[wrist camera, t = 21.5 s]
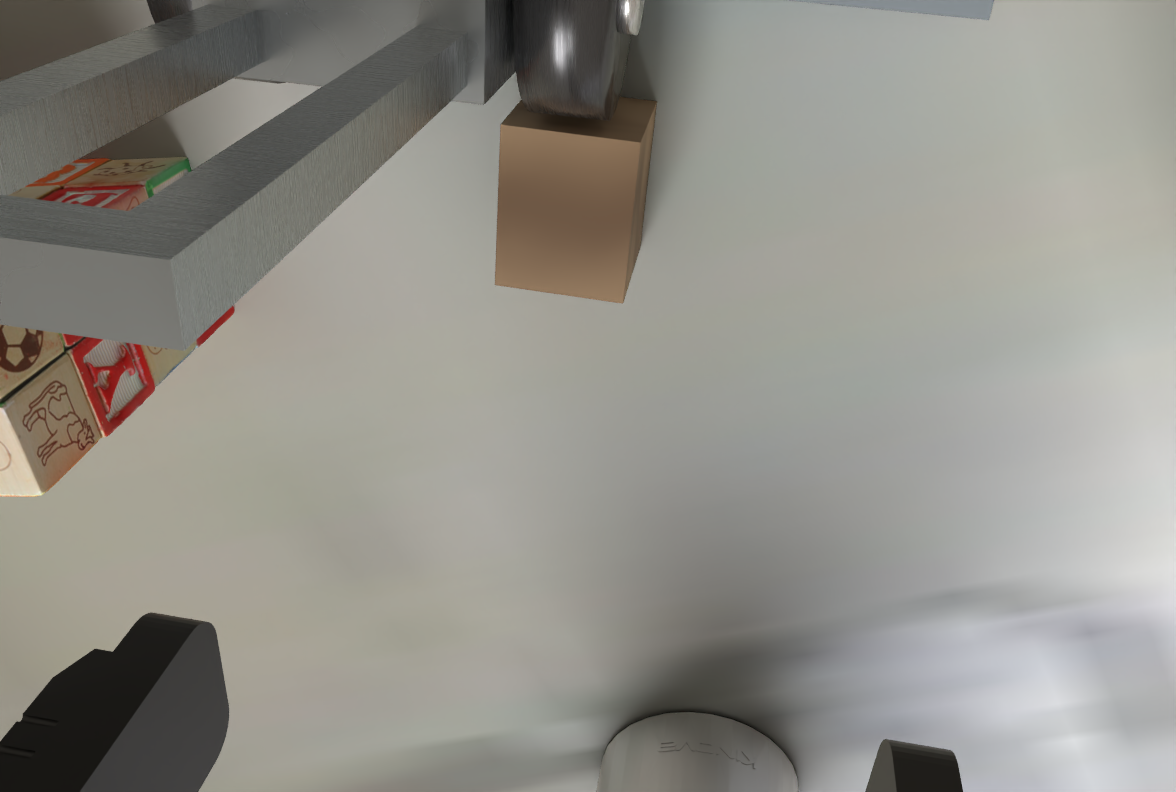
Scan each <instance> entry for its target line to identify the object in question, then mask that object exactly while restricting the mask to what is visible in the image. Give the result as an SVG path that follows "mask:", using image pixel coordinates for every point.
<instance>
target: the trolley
mask: <svg viewBox="0 0 1176 792" xmlns="http://www.w3.org/2000/svg"><path fill="white" fill-rule="evenodd" d="M644 2H645V0H147V3H148V5H149V8H150V11H151V14H152V17H153V19H154V22H155V24H154V25H151V26H148V27H146V28H143V29H140V30H138V31H135V32H132V33H129V34H127V35H124V36H121V37H119V38H116V39H113V40H110V41H108V42H105V43H102V44H100V45H97V46H94V47H92V48H89V49H86V50H83V51H81V52H78V53H75V54H73V55H70V56H67V57H65V58H62V59H59V60H56V61H54V62H51V63H48V64H46V65H43V66H40V67H38V68H35V69H32V70H29V71H27V72H24V73H21V74H19V75H16V76H13V77H10V78H8V79H5V80H2V81H0V325H7V326H14V327H21V328H28V329H34V330H41V331H48V332H55V333H62V334H69V335H76V336H83V337H90V338H97V339H104V340H111V341H118V342H125V343H132V344H139V345H146V346H153V347H160V348H167V349H174V350H181V351H185V350H186V349H187V348H188V347H189V346H190V345H191V344H192V343H193V342H195V341H196V340H197V339H198V338H199V337H200V336H201V335H202V334H203V333H204V332H205V331H206V330H207V329H208V328H209V327H211V326H212V325H213V324H214V323H215V322H216V321H217V320H218V319H219V318H220V317H221V316H222V315H223V314H224V313H225V312H226V311H228V310H229V309H230V308H231V307H232V306H233V305H234V304H235V303H236V302H237V301H238V300H239V299H240V298H241V297H242V296H244V295H245V294H246V293H247V292H248V291H249V290H250V289H251V288H252V287H253V286H254V285H255V284H256V283H257V282H258V281H260V280H261V279H262V278H263V277H264V276H265V275H266V274H267V273H268V272H269V271H270V270H271V269H272V268H273V267H274V266H276V265H277V264H278V263H279V262H280V261H281V260H282V259H283V258H284V257H285V256H286V255H287V254H288V253H289V252H290V251H292V250H293V249H294V248H295V247H296V246H297V245H298V244H299V243H300V242H301V241H302V240H303V239H304V238H305V237H306V236H308V235H309V234H310V233H311V232H312V231H313V230H314V229H315V228H316V227H317V226H318V225H319V224H320V223H321V222H322V221H324V220H325V219H326V218H327V217H328V216H329V215H330V214H331V213H332V212H333V211H334V210H335V209H336V208H337V207H338V206H340V205H341V204H342V203H343V202H344V201H345V200H346V199H347V198H348V197H349V196H350V195H351V194H352V193H353V192H354V191H355V190H357V189H358V188H359V187H360V186H361V185H362V184H363V183H364V182H365V181H366V180H367V179H368V178H369V177H370V176H371V175H373V174H374V173H375V172H376V171H377V170H378V169H379V168H380V167H381V166H382V165H383V164H384V163H385V162H386V161H387V160H389V159H390V158H391V157H392V156H393V155H394V154H395V153H396V152H397V151H398V150H399V149H400V148H401V147H402V146H403V145H405V144H406V143H407V142H408V141H409V140H410V139H411V138H412V137H413V136H414V135H415V134H416V133H417V132H418V131H419V130H421V129H422V128H423V127H424V126H425V125H426V124H427V123H428V122H429V121H430V120H431V119H432V118H433V117H434V116H435V115H437V114H438V113H439V112H440V111H441V110H442V109H443V108H444V107H445V106H446V105H447V104H448V103H449V102H450V101H456V102H465V103H474V104H483V105H484V104H485V103H486V102H487V101H488V100H489V99H490V98H491V97H492V96H493V95H494V94H495V93H496V91H497V90H498V89H499V88H500V87H501V86H502V85H503V84H504V83H505V82H506V81H507V80H508V79H509V78H510V77H511V76H512V75H513V74H514V72H515V71H516V74H517V81H518V87H519V92H520V96H521V99H522V102H523V104H524V106H525V108H526V109H527V110H528V111H530V112H535V113H544V114H553V115H562V116H570V117H579V118H588V119H597V120H606V121H609V120H611V119H612V117H613V115H614V113H615V110H616V107H617V104H618V101H619V97H620V93H621V89H622V84H623V80H624V75H625V69H626V64H627V58H628V52H629V46H630V39H631V35H638V33H639V30H640V26H641V21H642V16H643V9H644ZM232 78H235V79H243V80H252V81H261V82H270V83H286V82H288V83H297V84H306V85H315V86H323V87H321V88H320V89H318V90H317V91H315V92H313V93H312V94H310V95H309V96H307V97H306V98H304V99H303V100H301V101H299V102H298V103H296V104H295V105H293V106H292V107H290V108H289V109H287V110H285V111H284V112H282V113H281V114H279V115H278V116H276V117H275V118H273V119H271V120H270V121H268V122H267V123H265V124H264V125H262V126H261V127H259V128H257V129H256V130H254V131H253V132H251V133H250V134H248V135H247V136H245V137H243V138H242V139H240V140H239V141H237V142H236V143H234V144H233V145H231V146H229V147H228V148H226V149H225V150H223V151H222V152H220V153H219V154H217V155H215V156H214V157H212V158H211V159H209V160H208V161H206V162H205V163H203V164H201V165H200V166H198V167H197V168H195V169H194V170H192V171H191V172H189V173H187V174H186V175H184V176H183V177H181V178H180V179H178V180H177V181H175V182H173V183H172V184H170V185H169V186H167V187H166V188H164V189H163V190H161V191H159V192H158V193H156V194H155V195H153V196H152V197H150V198H149V199H147V200H146V201H144V202H142V203H141V204H139V205H138V206H136V207H135V208H133V209H132V210H130V211H124V210H116V209H108V208H101V207H93V206H85V205H77V204H70V203H62V202H54V201H46V200H38V199H31V198H23V197H15V196H8V195H10V194H12V193H14V192H16V191H17V190H19V189H21V188H23V187H25V186H27V185H29V184H31V183H33V182H35V181H37V180H39V179H40V178H42V177H44V176H46V175H48V174H50V173H52V172H54V171H56V170H58V169H60V168H62V167H63V166H65V165H67V164H69V163H71V162H73V161H75V160H77V159H79V158H81V157H83V156H85V155H86V154H88V153H90V152H92V151H94V150H96V149H98V148H100V147H102V146H104V145H106V144H108V143H109V142H111V141H113V140H115V139H117V138H119V137H121V136H123V135H125V134H127V133H129V132H131V131H132V130H134V129H136V128H138V127H140V126H142V125H144V124H146V123H148V122H150V121H152V120H154V119H155V118H157V117H159V116H161V115H163V114H165V113H167V112H169V111H171V110H173V109H175V108H177V107H178V106H180V105H182V104H184V103H186V102H188V101H190V100H192V99H194V98H196V97H198V96H200V95H201V94H203V93H205V92H207V91H209V90H211V89H213V88H215V87H217V86H219V85H221V84H223V83H224V82H226V81H228V80H230V79H232Z"/></svg>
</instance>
